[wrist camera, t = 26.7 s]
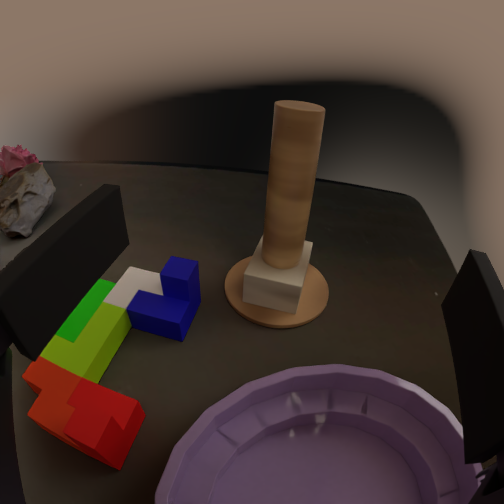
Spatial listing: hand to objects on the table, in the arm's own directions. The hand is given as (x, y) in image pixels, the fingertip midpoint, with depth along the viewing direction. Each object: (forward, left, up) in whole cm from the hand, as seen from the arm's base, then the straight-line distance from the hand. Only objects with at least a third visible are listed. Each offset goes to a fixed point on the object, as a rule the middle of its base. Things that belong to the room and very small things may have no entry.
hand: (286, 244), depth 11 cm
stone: (+34, -13, -13) cm, 39 cm away
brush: (+1, -12, -12) cm, 17 cm away
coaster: (+1, -11, -13) cm, 17 cm away
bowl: (-5, +7, -13) cm, 15 cm away
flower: (+45, -21, -13) cm, 51 cm away
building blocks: (+13, 0, -13) cm, 18 cm away
